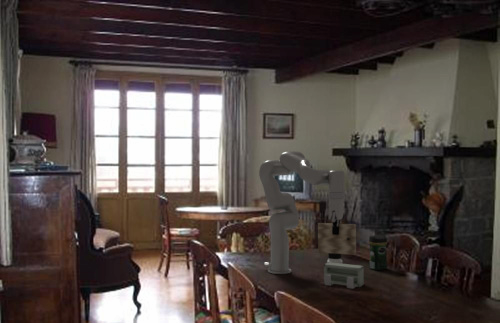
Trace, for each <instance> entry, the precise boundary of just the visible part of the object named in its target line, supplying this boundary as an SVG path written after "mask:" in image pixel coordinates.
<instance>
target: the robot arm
mask: <svg viewBox="0 0 500 323" xmlns="http://www.w3.org/2000/svg"><path fill="white" fill-rule="evenodd" d="M310 165H311V163H310V161H309V160H308V159H307V158H306V157H305V155H304V154H303V153H302V152H300V151H291V150H289V151H285V152H282V153H281V154H280V156H279V159H269V160H266V161H263V162H262V164H261V165H260V167H259V171H258V172H259V173H258V175H259V176H258V177H259V180H260V183H261V185H262V188H263V190H264V195H265V199H266V204H267V207H268V209H270V211H274V212H275V213H273V214H271V215H270V217H269V220H268V225H269V231H270V262H266V261H265V262H264V263H263V264H264V267H266V268H267V273H270V274H273V275H286V274H290V273H292V269H291V268H289V261H290V260H289V257H290V254H289V250H290V249H289V246H290V245H289V235H288V232H287V231H288V230H293V229H296V228H297V227H298V226H299V222H300V218H299V213H298V209H297V205H296V201H295V198H294V197H293V195H292V194H291V193H289V192H282V191H281V188H280V184H279V182H278V181H277V179H276V178H275V176H277V177H279V176H288V175H290V174H291V173H292V174H293V172H294V173H295V174H298V176H299V177H300V179H301V180H302V181H304V182H306V183H308V184H310V185H313V186H326V185H327V186H328V199H329V203H328V204H329V205H328V220H329V221H331V224H332V234H333V235H339V226H338V224H342V221H341V220H342V219H343V217H344V202H343V200H345V172H344V171H343V170H340V169H337V170H335V169H334V170H333V169H314V168H313V167H310ZM276 211H279V212H276ZM281 211H282V212H281ZM286 230H287V231H286Z"/></svg>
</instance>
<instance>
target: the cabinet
mask: <svg viewBox="0 0 500 323" xmlns="http://www.w3.org/2000/svg"><path fill="white" fill-rule="evenodd" d="M364 270H365V266H364V265H360V264H347V263H342V264H341V263H331V262H328V263H327V262H326V263H324V264H323V283H324V286H326V287H327V286H329V287H331V286H333V285H340V286H346V289H352V290H353V289H355V288H356V287H357V288H361V287H362V286H364V280H365V279H364Z"/></svg>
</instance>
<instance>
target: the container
mask: <svg viewBox="0 0 500 323" xmlns="http://www.w3.org/2000/svg"><path fill="white" fill-rule="evenodd" d="M327 254H328V256H327V257H328V259H327V262H326V263H328V262H331V263H341V264H343V259H342V254H334V253H327Z"/></svg>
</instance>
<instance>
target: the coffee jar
mask: <svg viewBox="0 0 500 323" xmlns="http://www.w3.org/2000/svg"><path fill="white" fill-rule="evenodd" d="M368 243H369V244H368V245H369V259H368V268H369V269H370V270H372V271H373V270H375V271H382V270H387V269H388V260H387V244H388V238H387V236H385V235H383V234H377V235H375V234H374V235H370V236H369V238H368Z"/></svg>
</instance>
